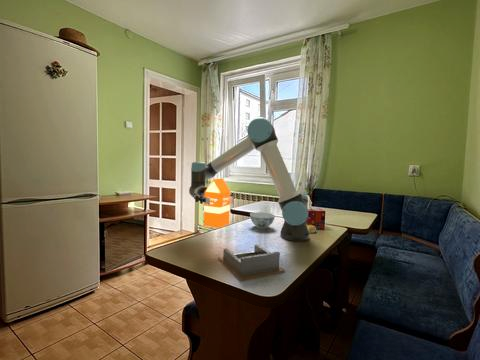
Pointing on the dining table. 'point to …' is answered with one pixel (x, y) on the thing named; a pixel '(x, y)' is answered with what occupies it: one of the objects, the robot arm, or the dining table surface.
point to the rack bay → (252, 263)
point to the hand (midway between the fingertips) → (221, 201)
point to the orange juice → (217, 204)
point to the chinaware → (262, 219)
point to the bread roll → (311, 228)
